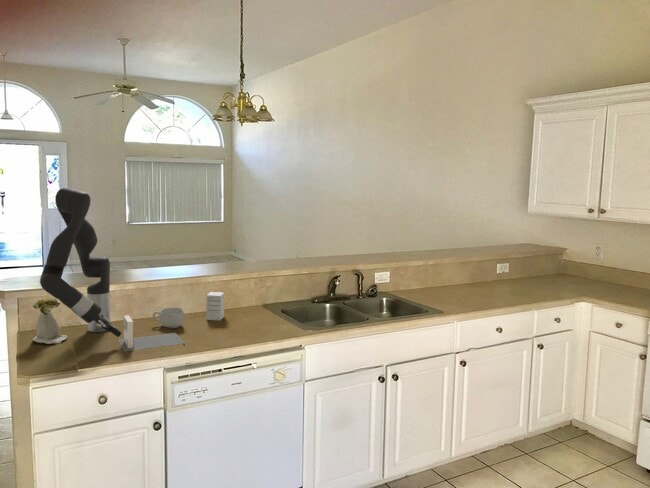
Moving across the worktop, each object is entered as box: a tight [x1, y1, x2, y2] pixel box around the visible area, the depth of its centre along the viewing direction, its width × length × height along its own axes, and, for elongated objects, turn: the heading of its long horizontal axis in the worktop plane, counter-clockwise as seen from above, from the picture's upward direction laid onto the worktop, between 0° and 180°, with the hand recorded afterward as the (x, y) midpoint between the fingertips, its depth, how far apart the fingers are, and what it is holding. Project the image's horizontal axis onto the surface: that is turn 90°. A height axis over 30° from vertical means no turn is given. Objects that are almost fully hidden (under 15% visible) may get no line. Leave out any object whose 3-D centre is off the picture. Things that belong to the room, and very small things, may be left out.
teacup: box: [152, 306, 185, 330], centre depth 238 cm, size 14×11×8 cm
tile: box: [123, 314, 135, 348], centre depth 209 cm, size 10×2×11 cm, turn 30°
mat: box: [117, 332, 185, 353], centre depth 214 cm, size 16×24×1 cm, turn 120°
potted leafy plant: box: [31, 297, 68, 345], centre depth 212 cm, size 12×13×18 cm
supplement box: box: [206, 291, 225, 321], centre depth 254 cm, size 7×7×13 cm
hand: (119, 334), depth 208 cm, fingers closed
